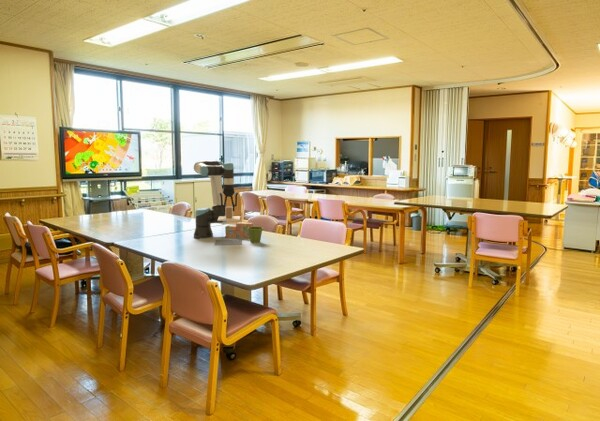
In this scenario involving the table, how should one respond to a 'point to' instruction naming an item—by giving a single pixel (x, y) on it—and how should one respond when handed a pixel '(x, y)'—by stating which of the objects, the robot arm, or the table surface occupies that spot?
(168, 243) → the table surface
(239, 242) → the mat
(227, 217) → the lid
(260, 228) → the plant pot
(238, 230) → the stack of blocks
